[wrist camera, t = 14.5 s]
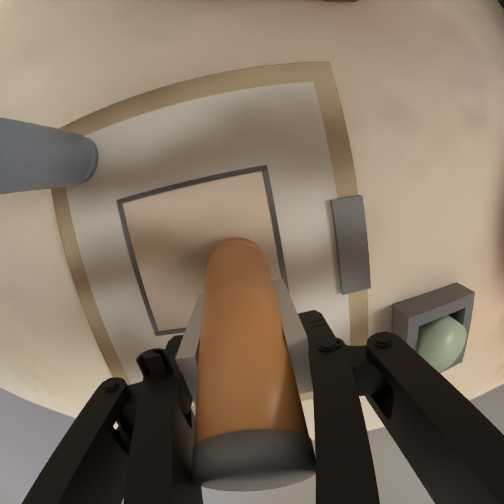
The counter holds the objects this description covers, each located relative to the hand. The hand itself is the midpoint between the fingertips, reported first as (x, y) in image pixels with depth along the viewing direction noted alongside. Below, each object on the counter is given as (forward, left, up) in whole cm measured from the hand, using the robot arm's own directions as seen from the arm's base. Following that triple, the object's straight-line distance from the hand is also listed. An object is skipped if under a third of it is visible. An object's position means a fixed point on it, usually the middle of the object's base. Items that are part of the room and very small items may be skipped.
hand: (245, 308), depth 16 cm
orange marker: (-3, 0, -1) cm, 3 cm away
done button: (+7, +14, -2) cm, 16 cm away
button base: (+7, +14, -2) cm, 16 cm away
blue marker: (-11, -9, -1) cm, 14 cm away
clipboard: (-2, -2, -2) cm, 4 cm away
